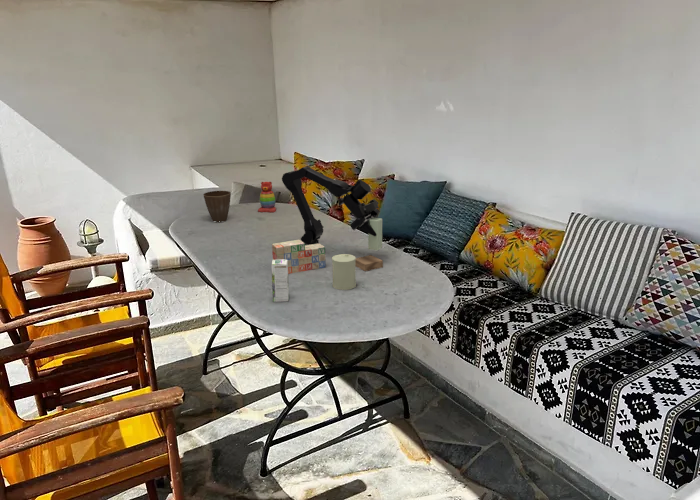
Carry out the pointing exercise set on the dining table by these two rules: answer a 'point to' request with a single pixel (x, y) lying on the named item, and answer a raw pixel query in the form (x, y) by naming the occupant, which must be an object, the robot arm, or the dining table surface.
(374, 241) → the sage post
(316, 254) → the stack of blocks
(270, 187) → the stacking bear
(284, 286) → the syrup box
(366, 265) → the walnut slab
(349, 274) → the can
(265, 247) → the dining table surface
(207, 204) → the plant pot
